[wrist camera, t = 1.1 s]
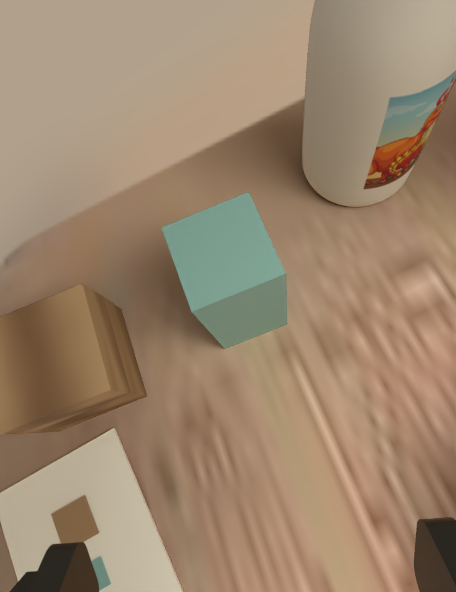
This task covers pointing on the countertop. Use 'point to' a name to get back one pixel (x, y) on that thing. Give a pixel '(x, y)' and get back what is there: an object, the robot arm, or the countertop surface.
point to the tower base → (64, 362)
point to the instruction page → (89, 518)
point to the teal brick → (229, 270)
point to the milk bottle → (373, 93)
